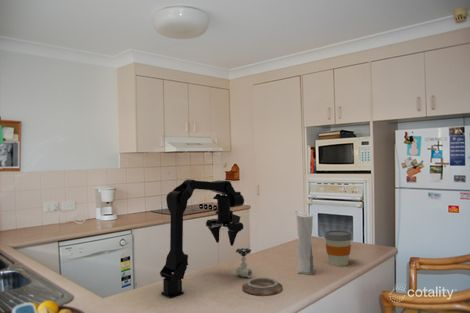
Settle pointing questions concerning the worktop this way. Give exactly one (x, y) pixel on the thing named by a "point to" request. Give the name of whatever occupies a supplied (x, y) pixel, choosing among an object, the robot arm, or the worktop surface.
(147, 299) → the worktop surface
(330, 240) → the reusable coffee cup
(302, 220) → the skyscraper
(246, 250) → the valve
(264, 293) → the collar base
